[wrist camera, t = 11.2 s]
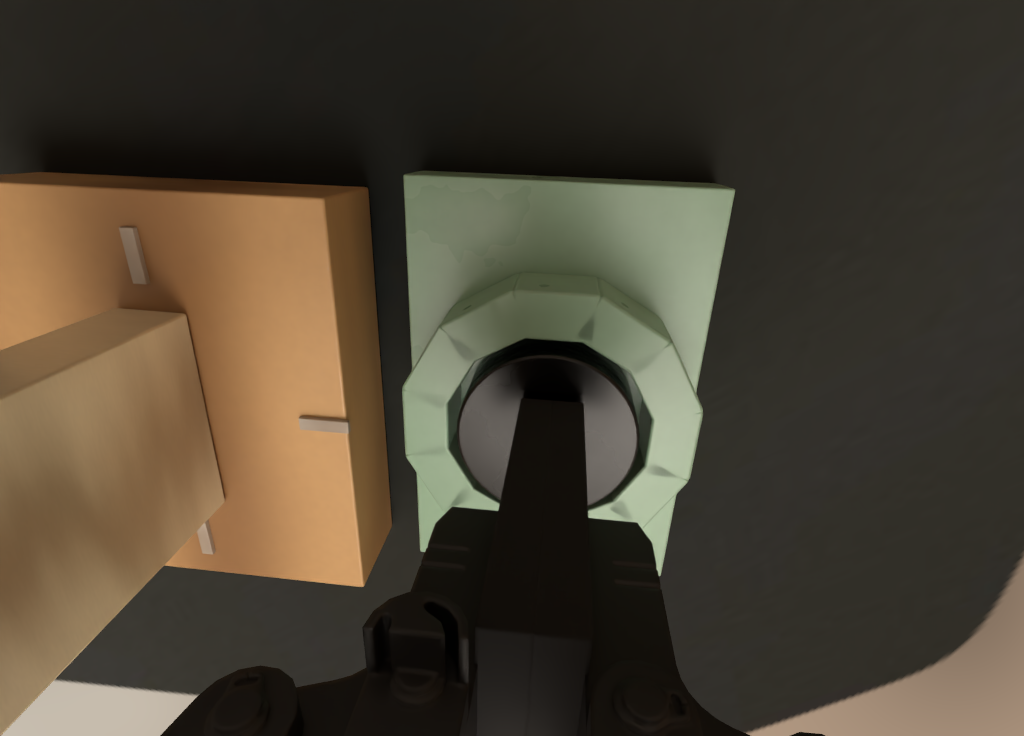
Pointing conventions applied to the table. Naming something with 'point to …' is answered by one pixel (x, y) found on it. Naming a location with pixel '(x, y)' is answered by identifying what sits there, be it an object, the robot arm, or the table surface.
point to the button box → (561, 314)
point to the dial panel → (233, 343)
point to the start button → (557, 378)
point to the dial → (93, 483)
